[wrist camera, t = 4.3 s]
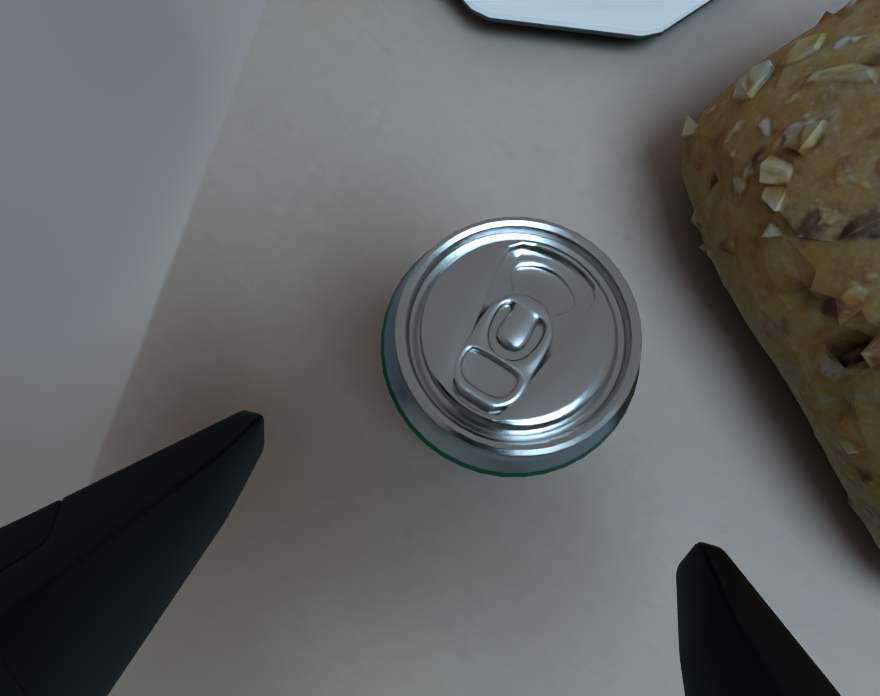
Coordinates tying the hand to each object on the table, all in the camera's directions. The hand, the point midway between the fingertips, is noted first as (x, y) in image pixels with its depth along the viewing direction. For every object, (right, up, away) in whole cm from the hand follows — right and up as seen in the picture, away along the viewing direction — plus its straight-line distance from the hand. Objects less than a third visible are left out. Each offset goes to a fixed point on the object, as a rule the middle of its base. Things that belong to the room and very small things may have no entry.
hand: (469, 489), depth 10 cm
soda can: (+1, +1, +11) cm, 11 cm away
